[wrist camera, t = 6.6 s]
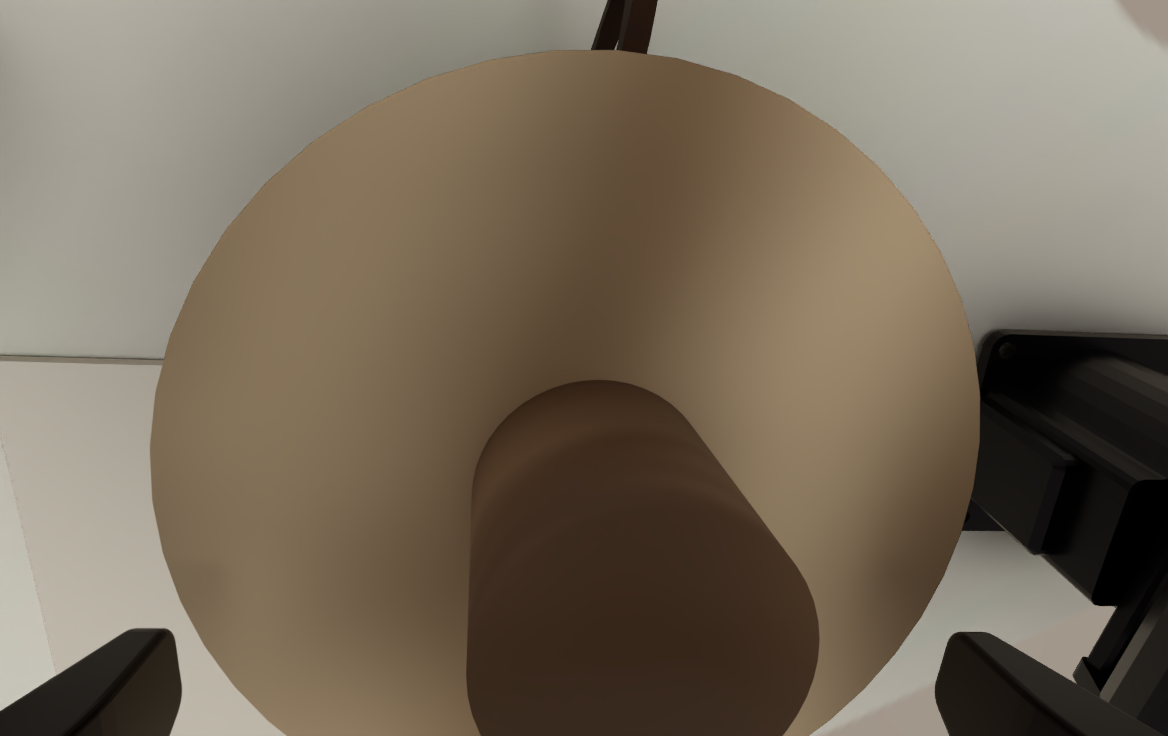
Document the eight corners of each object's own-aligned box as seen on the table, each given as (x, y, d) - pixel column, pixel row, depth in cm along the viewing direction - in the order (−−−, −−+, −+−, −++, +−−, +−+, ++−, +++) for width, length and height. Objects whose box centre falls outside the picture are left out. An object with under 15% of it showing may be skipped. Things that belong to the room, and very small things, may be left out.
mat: (489, 369, 21) (488, 374, 21) (482, 725, 26) (482, 734, 25) (-7, 355, 20) (-17, 360, 20) (78, 732, 24) (71, 742, 24)
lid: (1003, 84, 10) (1380, 40, 6) (879, 749, 13) (1068, 1037, 9) (134, 30, 9) (-202, -79, 4) (219, 793, 12) (68, 1162, 8)
